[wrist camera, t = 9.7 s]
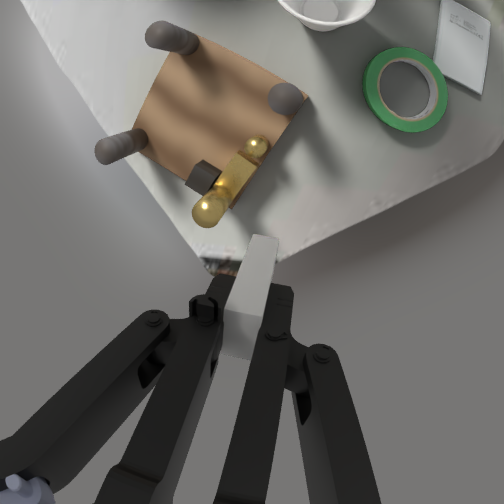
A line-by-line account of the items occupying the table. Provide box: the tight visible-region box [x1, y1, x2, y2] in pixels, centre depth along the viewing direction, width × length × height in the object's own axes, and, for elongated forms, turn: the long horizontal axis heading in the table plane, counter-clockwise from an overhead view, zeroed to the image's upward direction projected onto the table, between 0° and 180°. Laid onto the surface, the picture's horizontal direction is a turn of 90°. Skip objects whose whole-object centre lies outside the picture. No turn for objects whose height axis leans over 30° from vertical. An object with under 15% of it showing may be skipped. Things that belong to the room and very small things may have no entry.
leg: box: [192, 134, 269, 228], centre depth 34 cm, size 11×3×8 cm, turn 145°
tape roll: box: [362, 47, 448, 132], centre depth 29 cm, size 11×11×3 cm
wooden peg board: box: [95, 21, 308, 209], centre depth 32 cm, size 18×18×10 cm
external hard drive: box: [433, 0, 491, 95], centre depth 24 cm, size 2×8×12 cm
